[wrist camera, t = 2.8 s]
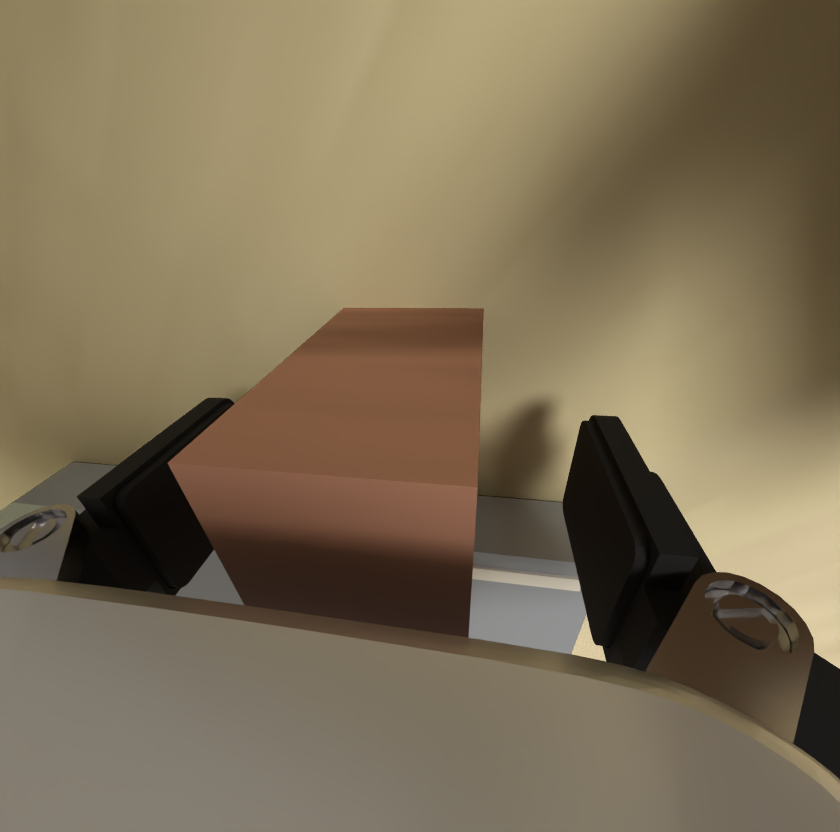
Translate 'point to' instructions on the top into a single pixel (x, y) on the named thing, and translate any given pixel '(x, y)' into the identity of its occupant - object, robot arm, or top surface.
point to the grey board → (491, 579)
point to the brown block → (352, 473)
